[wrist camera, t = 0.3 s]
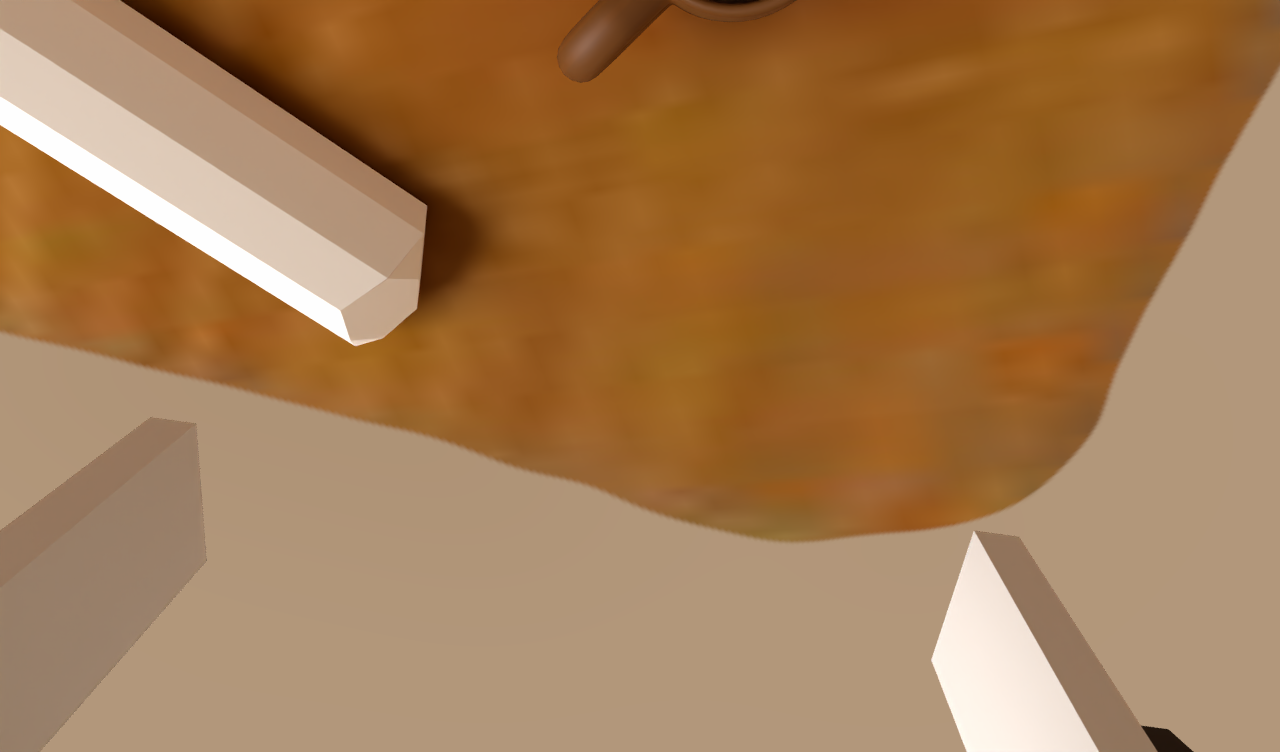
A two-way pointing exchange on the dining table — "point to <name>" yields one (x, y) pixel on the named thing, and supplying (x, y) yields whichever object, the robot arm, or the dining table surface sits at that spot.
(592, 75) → the mug
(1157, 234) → the dining table surface
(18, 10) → the crystal
